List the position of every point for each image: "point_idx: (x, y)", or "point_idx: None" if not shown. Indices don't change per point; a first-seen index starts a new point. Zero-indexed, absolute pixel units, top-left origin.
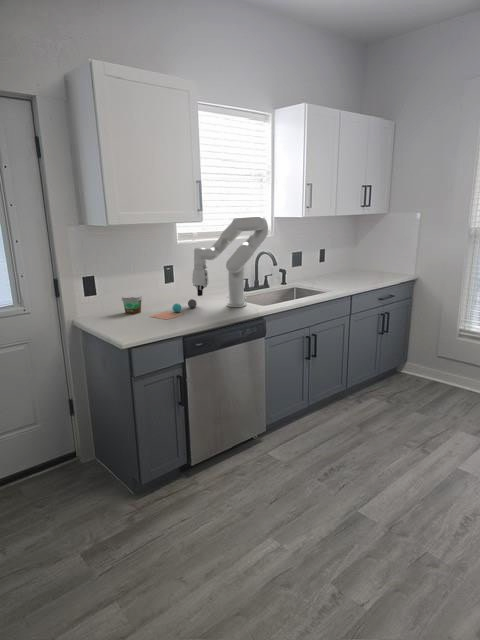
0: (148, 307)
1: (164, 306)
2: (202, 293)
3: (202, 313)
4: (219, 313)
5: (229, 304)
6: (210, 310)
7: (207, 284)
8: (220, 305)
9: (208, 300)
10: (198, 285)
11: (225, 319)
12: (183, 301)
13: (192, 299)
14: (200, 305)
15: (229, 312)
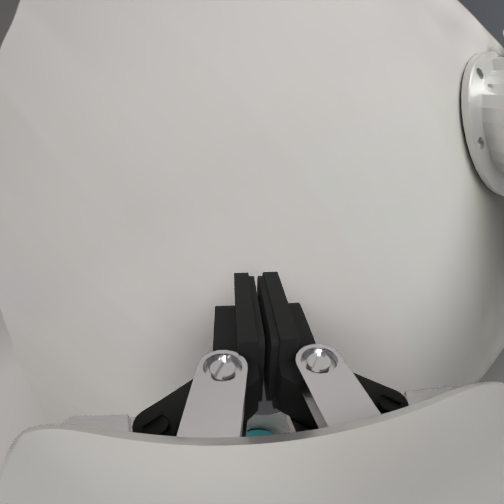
0: (62, 404)
1: (81, 379)
2: (300, 310)
3: (392, 386)
4: (465, 339)
5: (496, 170)
6: (416, 329)
7: (488, 391)
8: (429, 164)
9: (173, 21)
10: (185, 435)
11: (483, 371)
12: (21, 214)
13: (271, 407)
14: (261, 256)
15: (499, 298)
